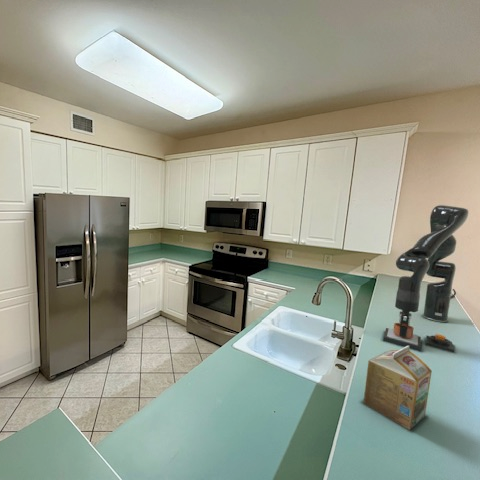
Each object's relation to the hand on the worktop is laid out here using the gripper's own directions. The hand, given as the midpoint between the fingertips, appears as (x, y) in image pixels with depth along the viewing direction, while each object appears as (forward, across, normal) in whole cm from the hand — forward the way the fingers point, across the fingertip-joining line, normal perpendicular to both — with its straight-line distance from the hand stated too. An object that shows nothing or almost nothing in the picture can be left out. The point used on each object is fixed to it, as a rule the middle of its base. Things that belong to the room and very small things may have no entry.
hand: (402, 333), depth 115 cm
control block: (+3, +8, -12) cm, 15 cm away
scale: (+3, 0, 0) cm, 3 cm away
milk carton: (+4, -60, 0) cm, 60 cm away
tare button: (+1, +8, -12) cm, 14 cm away
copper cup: (+1, 0, 0) cm, 1 cm away
